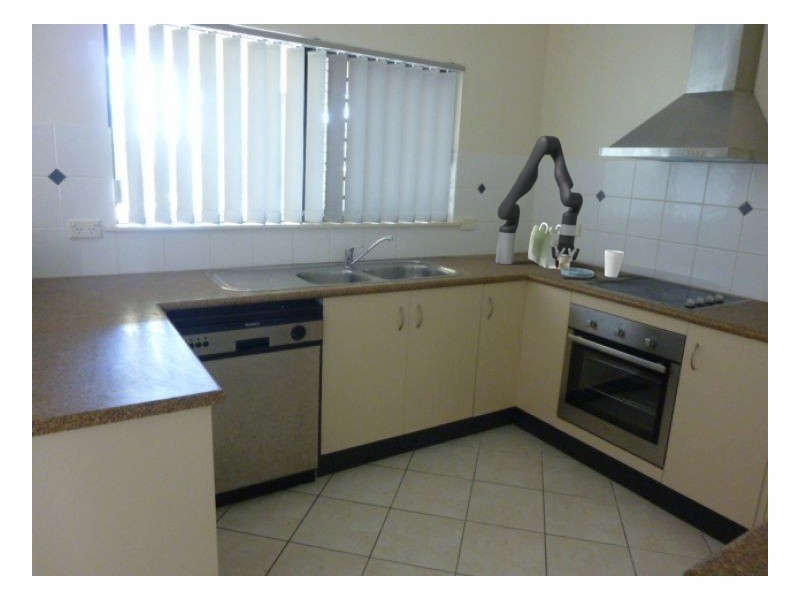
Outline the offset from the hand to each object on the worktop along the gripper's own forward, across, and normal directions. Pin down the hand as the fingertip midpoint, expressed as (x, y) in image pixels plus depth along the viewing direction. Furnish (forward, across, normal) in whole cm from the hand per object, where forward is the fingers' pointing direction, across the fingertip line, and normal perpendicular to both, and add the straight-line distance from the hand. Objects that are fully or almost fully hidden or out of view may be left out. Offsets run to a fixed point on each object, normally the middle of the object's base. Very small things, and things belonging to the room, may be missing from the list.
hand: (562, 267), depth 281 cm
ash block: (0, 0, 0) cm, 0 cm away
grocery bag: (+6, +4, +43) cm, 44 cm away
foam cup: (+5, +30, +14) cm, 34 cm away
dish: (+5, +11, +11) cm, 16 cm away
